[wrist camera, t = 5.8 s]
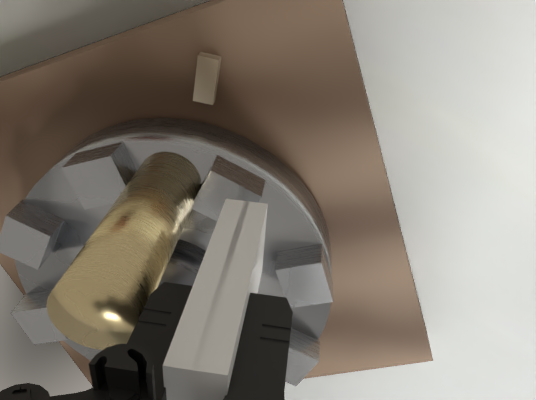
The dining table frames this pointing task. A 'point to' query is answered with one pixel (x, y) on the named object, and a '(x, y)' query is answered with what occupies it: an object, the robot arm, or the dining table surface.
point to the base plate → (251, 127)
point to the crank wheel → (159, 233)
